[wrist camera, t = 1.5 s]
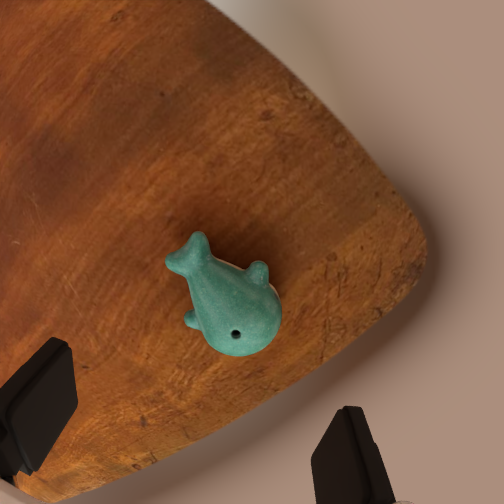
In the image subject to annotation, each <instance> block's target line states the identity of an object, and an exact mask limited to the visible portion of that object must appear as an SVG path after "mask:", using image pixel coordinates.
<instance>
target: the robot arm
mask: <svg viewBox="0 0 504 504" xmlns="http://www.w3.org/2000/svg"><path fill="white" fill-rule="evenodd" d="M77 405H78V398H77V391H76V384H75V376H74V368H73V358H72V350H71V348H70V347H69V346H68V343H67V342H65V341H63V340H60V339H58V338H55V337H51V338H50V339H49V340H48V341H47V342H46V343H45V344H44V345H43V346H42V347H41V348H40V349H39V350H38V351H37V352H36V353H35V354H34V355H33V356H32V357H31V358H30V359H29V360H28V361H27V362H26V363H25V364H24V365H22V366H21V367H20V368H19V369H18V370H17V371H16V372H15V373H14V375H13V376H12V377H11V378H10V379H9V380H8V381H7V382H6V383H5V384H4V385H3V386H2V387H1V388H0V504H45V503H43V502H42V501H40V500H38V499H36V498H34V497H32V496H30V495H28V494H26V493H25V492H23V491H21V490H19V487H18V483H17V479H16V475H17V473H18V471H19V470H20V471H22V472H24V473H25V474H27V475H29V476H31V474H32V472H33V471H35V472H36V471H38V470H39V468H40V466H41V465H42V463H43V461H44V460H45V458H46V456H47V455H48V453H49V451H50V450H51V448H52V447H53V445H54V443H55V442H56V440H57V438H58V437H59V435H60V434H61V432H62V430H63V429H64V427H65V426H66V424H67V422H68V421H69V419H70V418H71V416H72V415H73V413H74V411H75V410H76V408H77ZM311 467H312V475H313V482H314V489H315V497H316V504H414V503H412V502H408V501H398V502H396V500H395V497H394V494H393V491H392V488H391V484H390V481H389V478H388V475H387V472H386V469H385V467H384V463H383V461H382V458H381V455H380V452H379V449H378V447H377V445H376V443H374V441H373V438H372V435H371V432H370V429H369V426H368V424H367V421H366V418H365V415H364V412H363V410H362V408H361V407H356V406H344V407H343V409H339V410H338V411H337V412H336V414H335V416H334V418H333V420H332V421H331V423H330V425H329V427H328V429H327V430H326V432H325V434H324V435H323V437H322V439H321V441H320V442H319V444H318V446H317V447H316V449H315V451H314V452H313V454H312V457H311Z"/></svg>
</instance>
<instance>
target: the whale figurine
mask: <svg viewBox="0 0 504 504" xmlns="http://www.w3.org/2000/svg"><path fill="white" fill-rule="evenodd" d="M165 264H166V266H167V267H168V268H169V269H170V270H172V271H174V272H175V273H177V274H180V275H182V276H184V277H185V278H186V279H187V282H188V285H189V290H190V295H191V299H192V302H193V306H194V308H193V309H191V310H188V311H187V312H186V313H185V315H184V321H185V323H186V325H187V326H189V327H191V328H194V329H198V330H201V331H202V333H203V335H204V337H205V339H206V340H207V342H208V343H209V345H210V346H212V347H213V348H214V349H216V350H217V351H219V352H221V353H223V354H227V355H231V356H246V355H251V354H254V353H256V352H258V351H260V350H262V349H263V348H265V347H266V346H267V345H268V344H269V343H270V342H271V341H272V340H273V338H274V337H275V335H276V334H277V332H278V330H279V327H280V324H281V319H282V306H281V301H280V298H279V295H278V293H277V291H276V290H275V288H274V287H273V286H272V285H271V284H270V283H269V270H268V266H267V265H266V264H265V263H264V262H263V261H254V262H252V263H251V265H250V266H249V267H248V268H247V269H245V270H244V269H241V268H239V267H237V266H235V265H233V264H231V263H228V262H226V261H223V260H220V259H218V258H215V257H214V256H213V255H212V254H211V251H210V246H209V242H208V239H207V237H206V235H205V234H204V233H203V232H200V231H196V232H194V233H193V234H192V235H191V236H190V238H189V240H188V241H187V243H186V244H185V245H184V246H183V247H182V248H180V249H178V250H176V251H174V252H171V253H169V254H168V255H167V256H166V258H165Z"/></svg>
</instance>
